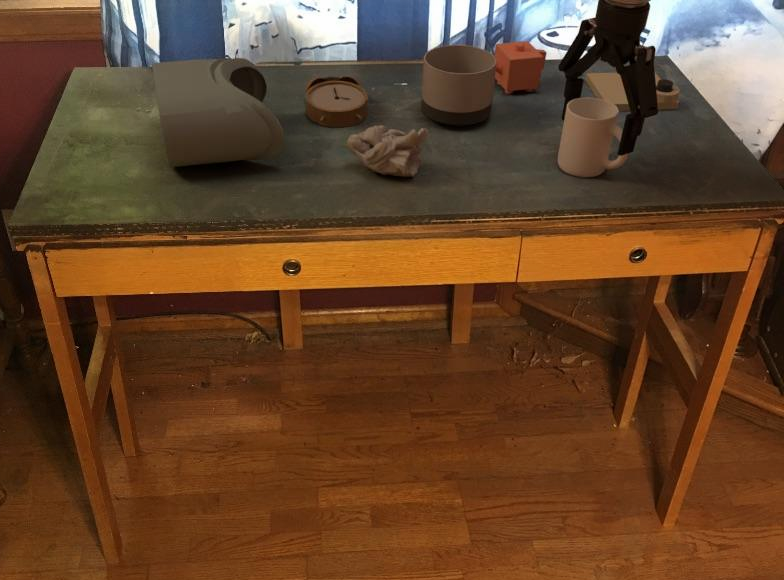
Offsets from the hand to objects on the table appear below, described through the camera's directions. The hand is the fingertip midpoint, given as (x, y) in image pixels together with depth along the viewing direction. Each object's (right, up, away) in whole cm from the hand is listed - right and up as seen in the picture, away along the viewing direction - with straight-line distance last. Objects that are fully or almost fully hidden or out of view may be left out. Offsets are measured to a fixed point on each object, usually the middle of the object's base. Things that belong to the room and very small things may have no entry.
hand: (596, 135), depth 140 cm
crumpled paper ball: (-34, -5, +3) cm, 34 cm away
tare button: (+18, +15, +22) cm, 32 cm away
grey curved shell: (-62, 0, +8) cm, 63 cm away
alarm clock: (-44, +10, +19) cm, 49 cm away
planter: (-21, +9, +18) cm, 30 cm away
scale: (+13, +16, +26) cm, 34 cm away
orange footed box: (-10, +18, +28) cm, 35 cm away
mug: (0, -5, +4) cm, 6 cm away
